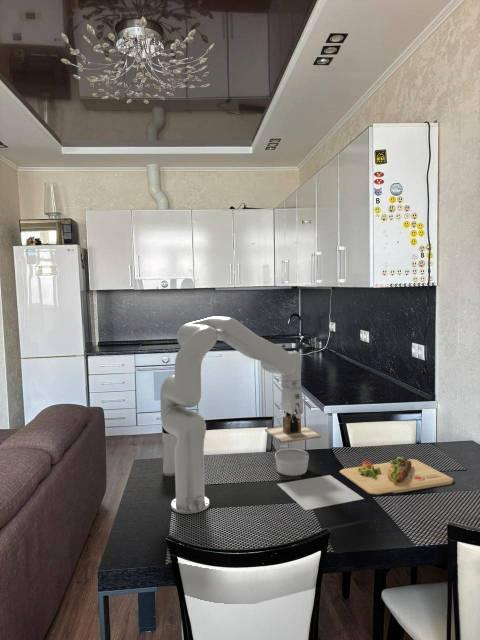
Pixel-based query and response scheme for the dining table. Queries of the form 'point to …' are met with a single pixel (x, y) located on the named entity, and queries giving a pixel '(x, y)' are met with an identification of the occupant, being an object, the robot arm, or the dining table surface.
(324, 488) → the rubber mat
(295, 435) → the oak lid
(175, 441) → the travel mug
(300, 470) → the ramekin
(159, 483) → the dining table surface
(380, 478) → the cutting board
